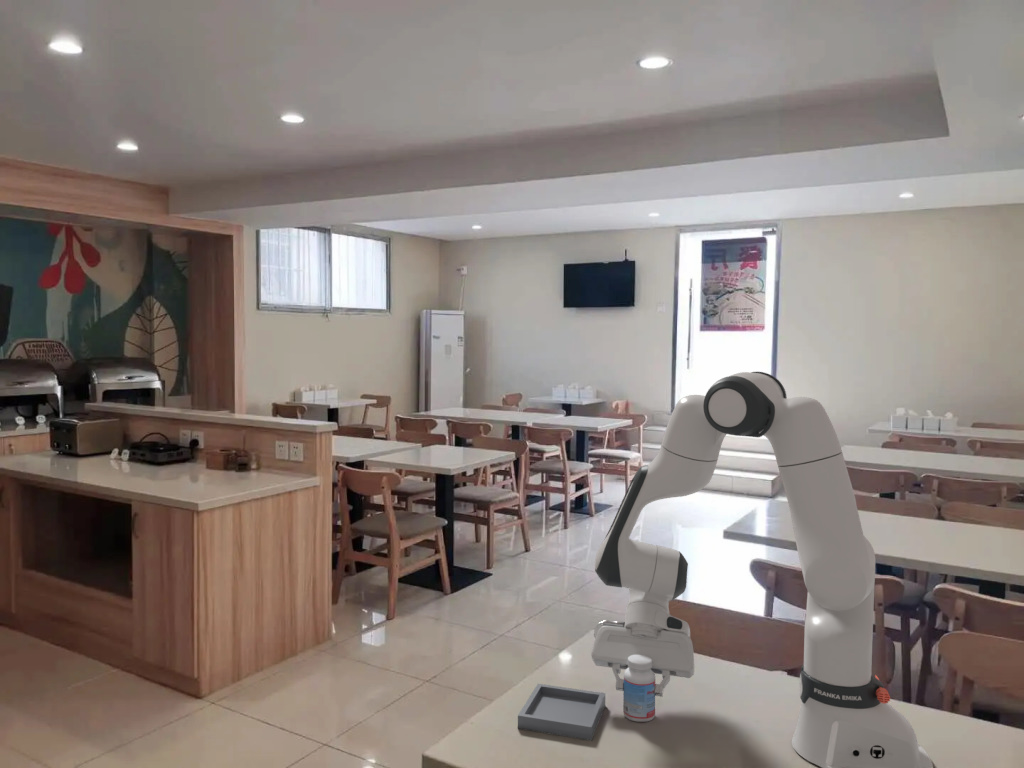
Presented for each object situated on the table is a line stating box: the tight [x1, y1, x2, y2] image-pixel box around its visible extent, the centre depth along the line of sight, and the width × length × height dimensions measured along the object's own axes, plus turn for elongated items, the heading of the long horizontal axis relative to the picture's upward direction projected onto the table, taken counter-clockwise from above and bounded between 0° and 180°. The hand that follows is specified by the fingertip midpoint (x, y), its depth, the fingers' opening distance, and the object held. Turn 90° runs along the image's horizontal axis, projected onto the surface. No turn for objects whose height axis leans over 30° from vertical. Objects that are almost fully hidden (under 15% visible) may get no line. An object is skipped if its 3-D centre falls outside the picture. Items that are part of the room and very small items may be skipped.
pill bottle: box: [622, 655, 656, 723], centre depth 147 cm, size 6×6×11 cm
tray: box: [517, 683, 606, 741], centre depth 147 cm, size 14×14×2 cm
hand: (639, 692), depth 147 cm, fingers closed on pill bottle, 6 cm apart
